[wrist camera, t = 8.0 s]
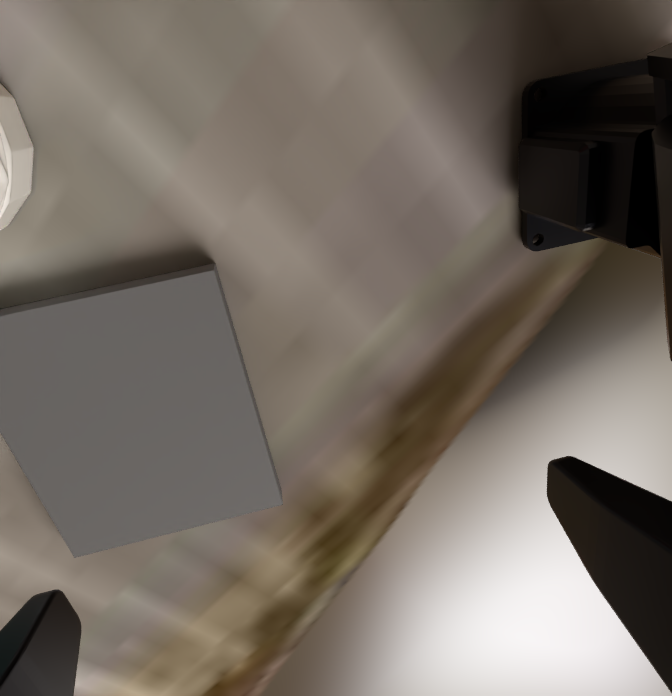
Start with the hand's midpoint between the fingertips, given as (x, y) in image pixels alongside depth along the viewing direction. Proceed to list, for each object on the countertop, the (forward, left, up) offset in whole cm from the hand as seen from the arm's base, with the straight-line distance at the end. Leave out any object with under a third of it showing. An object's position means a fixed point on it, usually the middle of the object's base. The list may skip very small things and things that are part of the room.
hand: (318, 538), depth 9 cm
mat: (+7, +4, -13) cm, 15 cm away
